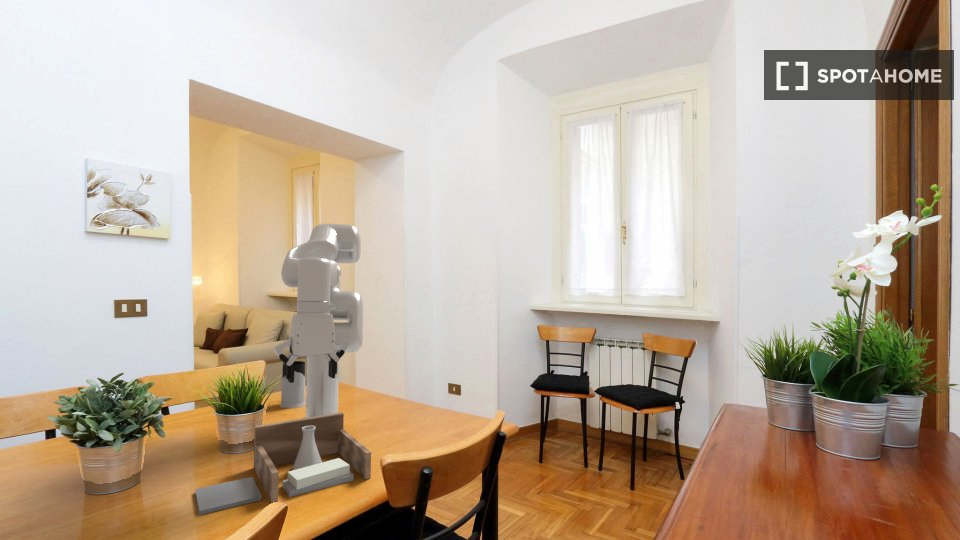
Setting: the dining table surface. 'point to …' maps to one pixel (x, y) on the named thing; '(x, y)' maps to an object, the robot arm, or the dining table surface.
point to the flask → (307, 450)
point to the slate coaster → (227, 495)
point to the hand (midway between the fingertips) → (311, 379)
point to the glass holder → (294, 387)
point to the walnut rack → (285, 440)
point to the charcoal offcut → (316, 485)
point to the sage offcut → (318, 473)
